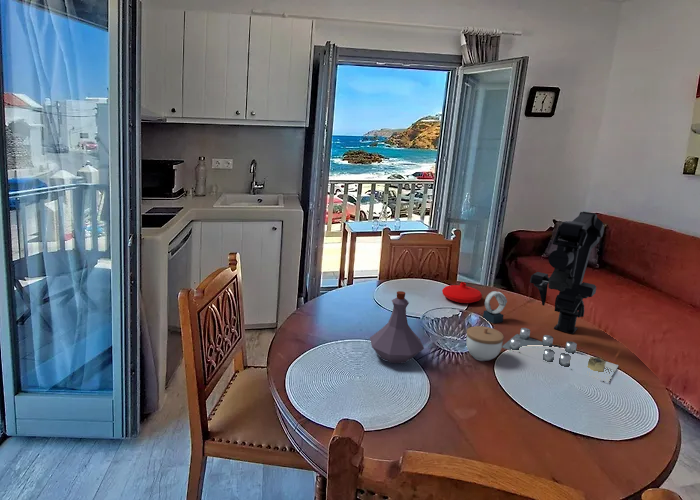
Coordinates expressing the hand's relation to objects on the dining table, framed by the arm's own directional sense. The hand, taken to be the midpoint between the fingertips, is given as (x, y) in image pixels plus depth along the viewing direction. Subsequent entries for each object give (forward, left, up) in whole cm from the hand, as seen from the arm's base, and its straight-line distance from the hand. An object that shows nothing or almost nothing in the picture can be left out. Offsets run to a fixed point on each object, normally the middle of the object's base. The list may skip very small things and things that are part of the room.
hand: (558, 309), depth 157 cm
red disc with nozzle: (-16, -40, -12) cm, 45 cm away
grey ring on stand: (-4, -22, -12) cm, 25 cm away
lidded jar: (+26, -13, -12) cm, 32 cm away
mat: (+9, +4, -12) cm, 16 cm away
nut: (+9, +15, -12) cm, 21 cm away
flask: (+44, -32, -12) cm, 56 cm away
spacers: (+9, 0, -12) cm, 15 cm away
